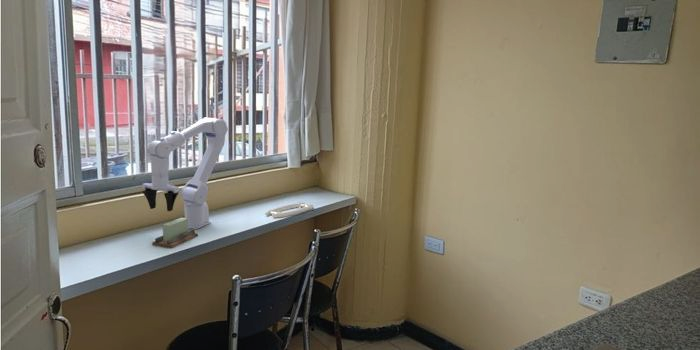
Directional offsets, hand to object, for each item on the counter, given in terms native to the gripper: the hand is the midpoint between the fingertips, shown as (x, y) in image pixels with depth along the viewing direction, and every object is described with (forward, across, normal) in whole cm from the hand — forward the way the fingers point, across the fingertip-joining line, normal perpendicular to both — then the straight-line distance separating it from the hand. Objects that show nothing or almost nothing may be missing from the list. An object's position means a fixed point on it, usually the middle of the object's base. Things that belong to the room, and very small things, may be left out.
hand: (161, 209), depth 183 cm
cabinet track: (+9, +9, -4) cm, 14 cm away
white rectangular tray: (+10, +31, +48) cm, 57 cm away
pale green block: (+8, +9, -4) cm, 13 cm away
